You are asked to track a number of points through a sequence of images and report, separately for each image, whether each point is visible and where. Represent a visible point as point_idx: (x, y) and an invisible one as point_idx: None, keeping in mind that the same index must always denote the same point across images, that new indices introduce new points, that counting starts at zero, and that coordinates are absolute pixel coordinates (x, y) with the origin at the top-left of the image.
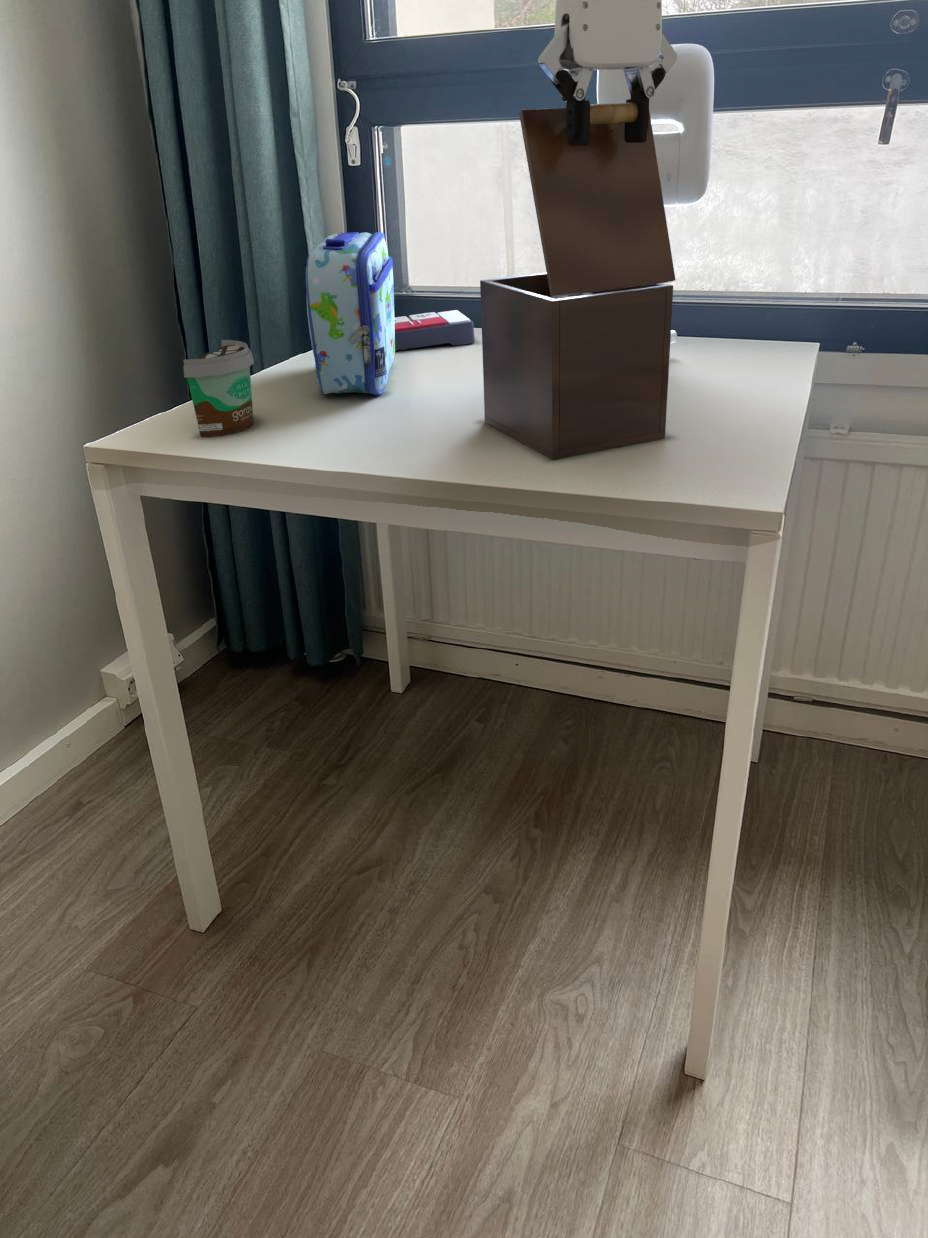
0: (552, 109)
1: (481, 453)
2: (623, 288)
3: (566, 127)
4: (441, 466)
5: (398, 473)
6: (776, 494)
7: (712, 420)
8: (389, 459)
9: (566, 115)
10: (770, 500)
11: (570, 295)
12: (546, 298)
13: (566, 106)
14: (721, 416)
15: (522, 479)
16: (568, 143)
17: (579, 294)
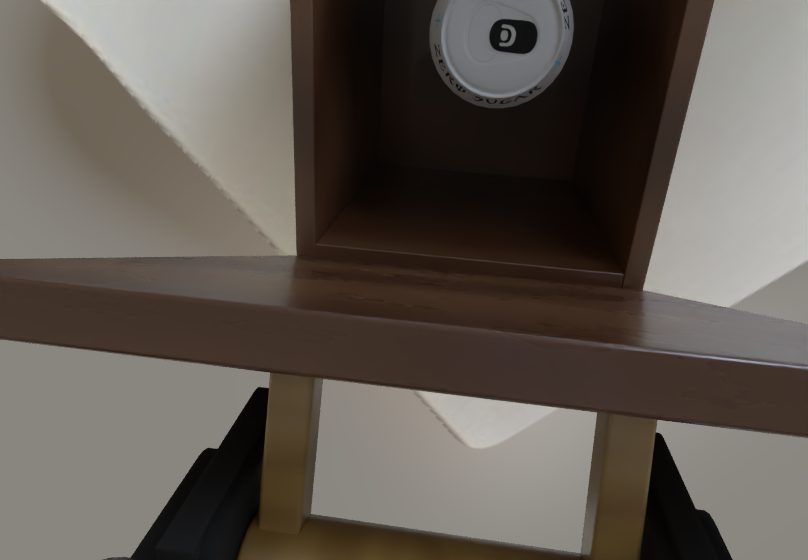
0: (123, 353)
1: (289, 72)
2: (658, 81)
3: (191, 470)
4: (210, 93)
5: (143, 83)
6: (520, 429)
7: (727, 159)
8: (145, 4)
9: (159, 518)
10: (500, 436)
11: (495, 36)
12: (301, 224)
13: (132, 557)
14: (762, 149)
15: (292, 215)
16: (259, 387)
17: (526, 38)
